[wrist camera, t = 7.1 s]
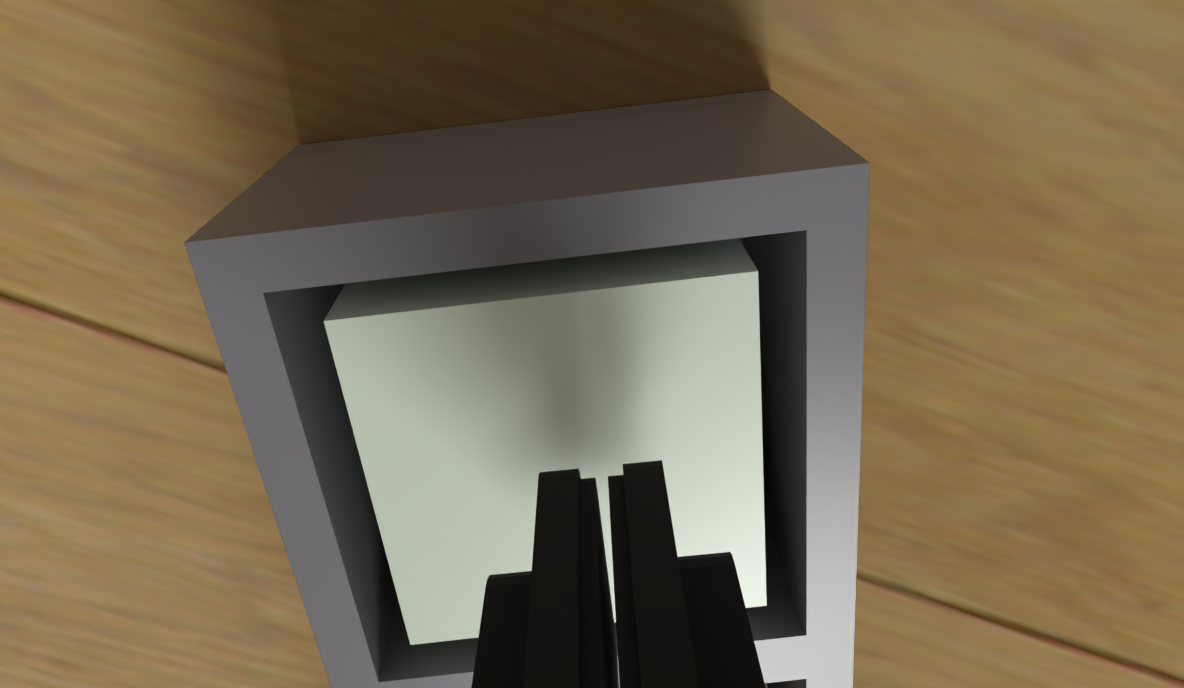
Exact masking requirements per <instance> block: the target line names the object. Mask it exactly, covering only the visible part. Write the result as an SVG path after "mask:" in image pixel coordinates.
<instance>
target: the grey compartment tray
mask: <svg viewBox="0 0 1184 688" xmlns="http://www.w3.org/2000/svg"><path fill="white" fill-rule="evenodd" d="M869 172H870V163H869V162H868V161H867V160H865V159H864V158H863V157H861V156H860V155H859V154H857V153H856V152H855V151H853V150H852V149H851V148H849V147H848V146H847V145H845V144H844V143H843V142H841V141H840V140H839V139H837V138H836V137H835V136H833V135H832V134H831V133H829V132H828V131H827V130H825V129H824V128H823V127H821V126H820V125H819V124H817V123H816V122H815V121H813V120H812V119H811V118H809V117H808V116H807V115H805V114H804V113H803V112H801V111H800V110H799V109H797V108H796V107H795V106H793V105H792V104H791V103H789V102H788V101H787V100H785V99H784V98H782V97H781V96H780V95H778V94H777V93H776V92H774V91H773V90H763V91H755V92H746V93H738V94H729V95H721V96H712V97H704V98H695V99H687V100H678V101H670V102H661V103H653V104H644V105H636V106H627V107H619V108H610V109H602V110H593V111H585V112H576V113H568V114H559V115H551V116H542V117H534V118H525V119H517V120H508V121H500V122H491V123H483V124H474V125H466V126H457V127H449V128H440V129H432V130H423V131H415V132H406V133H398V134H389V135H381V136H372V137H364V138H355V139H347V140H338V141H330V142H321V143H313V144H304V145H298V146H297V147H296V148H295V149H294V150H292V151H291V152H290V153H289V154H288V155H287V156H285V157H284V158H283V159H282V160H281V161H279V162H278V163H277V164H276V165H275V166H274V167H272V168H271V169H270V170H269V171H268V172H267V173H265V174H264V175H263V176H262V177H261V178H259V179H258V180H257V181H256V182H255V183H254V184H252V185H251V186H250V187H249V188H248V189H247V190H245V191H244V192H243V193H242V194H241V195H239V196H238V197H237V198H236V199H235V200H234V201H232V202H231V203H230V204H229V205H228V206H226V207H225V208H224V209H223V210H222V211H221V212H219V213H218V214H217V215H216V216H215V217H214V218H212V219H211V220H210V221H209V222H208V223H206V224H205V225H204V226H203V227H202V228H201V229H199V230H198V231H197V232H196V233H195V234H194V235H192V236H191V237H190V238H189V239H188V240H186V241H185V242H184V244H185V247H186V250H187V253H188V256H189V259H190V262H191V265H192V268H193V271H194V274H195V277H196V280H197V283H198V286H199V289H200V292H201V295H202V298H203V302H204V305H205V308H206V311H207V314H208V317H209V320H210V323H211V326H212V329H213V332H214V335H215V338H216V341H217V344H218V347H219V350H220V353H221V356H222V359H223V362H224V365H225V368H226V371H227V374H228V377H229V380H230V383H231V386H232V389H233V392H234V395H235V398H236V401H237V404H238V407H239V410H240V413H241V416H242V419H243V422H244V425H245V428H246V431H247V434H248V437H249V440H250V443H251V446H252V449H253V452H254V455H255V458H256V461H257V464H258V467H259V470H260V474H261V477H262V480H263V483H264V486H265V489H266V492H267V495H268V498H269V501H270V504H271V507H272V510H273V513H274V516H275V519H276V522H277V525H278V528H279V531H280V534H281V537H282V540H283V543H284V546H285V549H286V552H287V555H288V558H289V561H290V564H291V567H292V570H293V573H294V576H295V579H296V582H297V585H298V588H299V591H300V594H301V597H302V600H303V603H304V606H305V609H306V612H307V615H308V618H309V621H310V624H311V627H312V630H313V633H314V636H315V639H316V642H317V645H318V649H319V652H320V655H321V658H322V661H323V664H324V667H325V670H326V673H327V676H328V679H329V682H330V685H331V688H471V687H472V680H473V673H474V666H475V658H476V651H477V644H478V638H469V639H460V640H451V641H442V642H433V643H424V644H415V645H410V642H409V638H408V634H407V630H406V627H405V623H404V619H403V616H402V612H401V608H400V604H399V601H398V597H397V593H396V589H395V586H394V582H393V578H392V574H391V571H390V567H389V563H388V560H387V556H386V552H385V548H384V545H383V541H382V537H381V533H380V530H379V526H378V522H377V519H376V515H375V511H374V507H373V504H372V500H371V496H370V492H369V489H368V485H367V481H366V478H365V474H364V470H363V466H362V463H361V459H360V455H359V451H358V448H357V444H356V440H355V437H354V433H353V429H352V425H351V422H350V418H349V414H348V410H347V407H346V403H345V399H344V396H343V392H342V388H341V384H340V381H339V377H338V373H337V369H336V366H335V362H334V358H333V354H332V351H331V347H330V343H329V340H328V336H327V332H326V328H325V325H324V320H325V318H326V316H327V314H328V313H329V311H330V309H331V308H332V306H333V304H334V302H335V301H336V299H337V297H338V296H339V294H340V292H341V291H342V289H343V287H344V285H345V284H346V283H353V282H362V281H371V280H379V279H388V278H397V277H405V276H414V275H423V274H431V273H440V272H449V271H457V270H466V269H475V268H483V267H492V266H501V265H509V264H518V263H527V262H535V261H544V260H553V259H561V258H570V257H578V256H587V255H596V254H604V253H613V252H622V251H630V250H639V249H648V248H656V247H665V246H674V245H682V244H691V243H700V242H708V241H717V240H726V239H734V238H739V239H740V241H741V243H742V245H743V246H744V248H745V250H746V251H747V253H748V255H749V256H750V258H751V260H752V261H753V263H754V265H755V267H756V268H757V270H758V283H759V322H760V361H761V401H762V440H763V479H764V519H765V558H766V597H767V606H760V607H751V608H746V611H747V615H748V619H749V623H750V627H751V631H752V635H753V639H754V643H755V647H756V651H757V655H758V659H759V663H760V667H761V671H762V675H763V679H764V683H767V687H768V688H852V686H853V656H854V626H855V595H856V565H857V535H858V505H859V474H860V444H861V414H862V384H863V353H864V323H865V293H866V263H867V232H868V202H869ZM614 625H615V634H616V644H617V631H616V622H614ZM617 658H618V649H617ZM618 676H619V666H618ZM619 688H620V683H619Z"/></svg>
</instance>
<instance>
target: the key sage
mask: <svg viewBox="0 0 1184 688" xmlns="http://www.w3.org/2000/svg"><path fill="white" fill-rule="evenodd" d="M324 325H325V328H326V332H327V336H328V340H329V343H330V347H331V351H332V354H333V358H334V362H335V366H336V369H337V373H338V377H339V381H340V384H341V388H342V392H343V396H344V399H345V403H346V407H347V410H348V414H349V418H350V422H351V425H352V429H353V433H354V437H355V440H356V444H357V448H358V451H359V455H360V459H361V463H362V466H363V470H364V474H365V478H366V481H367V485H368V489H369V492H370V496H371V500H372V504H373V507H374V511H375V515H376V519H377V522H378V526H379V530H380V533H381V537H382V541H383V545H384V548H385V552H386V556H387V560H388V563H389V567H390V571H391V574H392V578H393V582H394V586H395V589H396V593H397V597H398V601H399V604H400V608H401V612H402V616H403V619H404V623H405V627H406V630H407V634H408V638H409V642H410V645H415V644H424V643H433V642H442V641H451V640H460V639H469V638H478V637H479V630H480V623H481V616H482V609H483V602H484V595H485V587H486V583H487V579H488V577H489V575H495V574H505V573H515V572H526V571H532V559H533V545H534V531H535V517H536V503H537V489H538V477H539V473H540V472H548V471H558V470H568V469H578V468H579V471H580V476H581V479H585V478H596V484H597V491H598V499H599V507H600V515H601V523H602V531H603V538H604V546H605V554H606V562H607V570H608V578H609V586H610V593H611V601H612V609H613V617H614V622H616V613H615V595H614V577H613V560H612V542H611V524H610V506H609V488H608V476H615V475H623V464H628V463H638V462H648V461H658V460H662V463H663V469H664V476H665V482H666V488H667V494H668V500H669V507H670V513H671V519H672V525H673V531H674V538H675V544H676V550H677V556H678V557H682V556H692V555H703V554H713V553H723V552H731V554H732V556H733V560H734V563H735V567H736V571H737V575H738V579H739V583H740V587H741V591H742V595H743V599H744V603H745V607H746V608H751V607H760V606H767V597H766V558H765V519H764V479H763V440H762V401H761V361H760V322H759V283H758V270H757V268H756V267H755V265H754V263H753V261H752V260H751V258H750V256H749V255H748V253H747V251H746V250H745V248H744V246H743V245H742V243H741V241H740V239H739V238H734V239H726V240H717V241H708V242H700V243H691V244H682V245H674V246H665V247H656V248H648V249H639V250H630V251H622V252H613V253H604V254H596V255H587V256H578V257H570V258H561V259H553V260H544V261H535V262H527V263H518V264H509V265H501V266H492V267H483V268H475V269H466V270H457V271H449V272H440V273H431V274H423V275H414V276H405V277H397V278H388V279H379V280H371V281H362V282H353V283H346V284H345V285H344V287H343V289H342V291H341V292H340V294H339V296H338V297H337V299H336V301H335V302H334V304H333V306H332V308H331V309H330V311H329V313H328V314H327V316H326V318H325V320H324Z"/></svg>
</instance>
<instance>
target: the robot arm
mask: <svg viewBox="0 0 1184 688" xmlns="http://www.w3.org/2000/svg"><path fill="white" fill-rule="evenodd" d="M608 488H609V506H610V524H611V542H612V560H613V577H614V595H615V613H616V631H617V644H616V634H615V625H614V617H613V609H612V601H611V593H610V586H609V578H608V570H607V562H606V554H605V546H604V538H603V531H602V523H601V515H600V507H599V499H598V491H597V484H596V478H585V479H581V476H580V471H579V468H578V469H568V470H558V471H548V472H540V473H539V477H538V489H537V503H536V517H535V531H534V545H533V559H532V571H526V572H515V573H505V574H495V575H489V577H488V579H487V583H486V587H485V595H484V602H483V609H482V616H481V623H480V630H479V637H478V644H477V651H476V658H475V666H474V673H473V680H472V687H471V688H619V683H620V688H766V687H765V683H764V679H763V675H762V671H761V667H760V663H759V659H758V655H757V651H756V647H755V643H754V639H753V635H752V631H751V627H750V623H749V619H748V615H747V611H746V607H745V603H744V599H743V595H742V591H741V587H740V583H739V579H738V575H737V571H736V567H735V563H734V560H733V556H732V554H731V552H723V553H713V554H703V555H692V556H682V557H678V556H677V550H676V544H675V538H674V531H673V525H672V519H671V513H670V507H669V500H668V494H667V488H666V482H665V476H664V469H663V463H662V460H658V461H648V462H638V463H628V464H623V475H615V476H608ZM617 649H618V658H617ZM618 666H619V676H618Z"/></svg>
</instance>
